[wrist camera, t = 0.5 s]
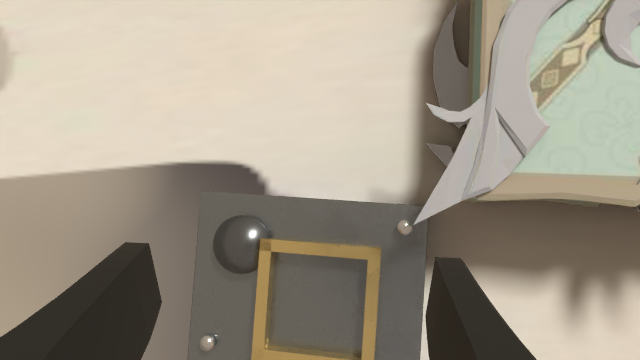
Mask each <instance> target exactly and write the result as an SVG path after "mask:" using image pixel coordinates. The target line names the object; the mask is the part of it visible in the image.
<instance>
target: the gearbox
mask: <svg viewBox="0 0 640 360" xmlns="http://www.w3.org/2000/svg"><path fill="white" fill-rule="evenodd" d="M423 207H424V206H418V205H403V204H388V203H373V202H358V201H343V200H328V199H313V198H298V197H283V196H269V195H254V194H239V193H224V192H223V193H222V192H209V191H201V199H200V212H199V224H198V237H197V249H196V262H195V274H194V286H193V299H192V311H191V323H190V335H189V348H188V360H420V351H421V334H422V317H423V299H424V282H425V265H426V247H427V230H428V218H426V219H424V220H422V221H420V222H418V223H416V224H414V223H415V221H416V219H417V218H418V216H419V214H420V213H421V211H422V209H423ZM413 224H414V225H413Z"/></svg>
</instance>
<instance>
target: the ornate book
mask: <svg viewBox="0 0 640 360" xmlns="http://www.w3.org/2000/svg"><path fill="white" fill-rule="evenodd" d="M457 3H458V1H457ZM457 3H456V4H455V6H454V7H453V9H452V10H451V12H450V13H449V15H448V16H447V18H446V19H445V21H444V24H443V26H442V29H441V31H440V34H439V36H438V39H437V42H436V44H435V47H434V62H433V80H434V84H435V89H436V93H437V97H438V102H439V106H440V107H437V106H434V105H431V104H428V103H426V105H427V106H428V108H429V109H430V111H431V112H432V113H433V115H434V116H436V117H438V118H440V119H442V120H444V121H446V122H448V123H454V124H455V125H456V126H457V128H458V129H460V128H461V127H462V126H463V125H464V124H465V125H467V128H466V130H465V132H464V134H463V136H462V138H461V140H460V142H459V145H458V147H457V149H456V151H455V153H454V154H453V151H452V149H451V147H450V145H440V144H430V143H426V145H427V146H428V147H429V148H430V149H431V150H432V152H433V153H434V154H435V155H436V156H437V157H438V158H439V159H440V161H441V162H442V163H443V164H444V165H445V166H446V167H447V168H446V170H445V172H444V173H443V175H442V177H441V178H440V180H439V182H438V184H437V185H436V187H435V189H434V190H433V192H432V194H431V195H430V197H429V199H428V201H427V202H426V204H425V206H424V207H423V209H422V211H421V213H420V214H419V216H418V218H417V219H416V221H415V223H414V224H416V223H418V222H420V221H422V220H424V219H426V218H428V217H430V216H432V215H434V214H436V213H438V212H440V211H442V210H444V209H447V208H449V207H451V206H453V205H455V204H457V203H459V202H462V201H464V202H497V201H546V202H554V203H563V204H571V205H579V206H588V207H598V206H600V205H601V204H603V203H606V204H614V205H621V206H629V207H636V208H637V209H636V210H638V212H640V0H471V1H470V33H469V66H468V67H465V66H464V65H463V64H462V63H461V62H460V61H459V60H458V57H457V54H456V51H455V47H454V40H453V31H452V24H453V20H454V16H455V12H456V8H457ZM414 224H413V225H414Z"/></svg>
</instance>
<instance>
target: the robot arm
mask: <svg viewBox="0 0 640 360" xmlns="http://www.w3.org/2000/svg"><path fill="white" fill-rule="evenodd" d="M161 303H162V300H161V296H160V292H159V287H158V282H157V278H156V273H155V269H154V264H153V260H152V255H151V251H150V246H149V244H148V243H129V242H125V243H124V244H123V245H121V246H120V247H119V248H118V249H116V250H115V251H114V252H113V253H112V254H110V255H109V256H108V257H106V258H105V259H104V260H103V261H102V262H100V263H99V264H98V265H97V266H95V267H94V268H93V269H92V270H91V271H89V272H88V273H87V274H86V275H84V276H83V277H82V278H81V279H79V280H78V281H77V282H76V283H74V284H73V285H72V286H71V287H70V288H68V289H67V290H66V291H64V292H63V293H62V294H60V295H59V296H58V297H57V298H55V299H54V300H52V301H51V302H50V303H48V304H47V305H46V306H44V307H43V308H42V309H40V310H39V311H38V312H36V313H35V314H33V315H32V316H31V317H29V318H28V319H27V320H25V321H24V322H23V323H21V324H20V325H18V326H17V327H15V328H14V329H12V330H11V331H9V332H8V333H6V334H5V335H3V336H2V337H0V360H141V358H142V356H143V354H144V352H145V349H146V347H147V345H148V343H149V340H150V338H151V335H152V332H153V329H154V326H155V323H156V320H157V316H158V313H159V310H160V306H161ZM426 329H427V341H428V352H429V359H430V360H537V359H536V358H535V357H534V356H533V355H532V354H531V353H530V351H529V350H528V349H527V348H526V347H525V346H524V344H523V343H522V342H521V341H520V340H519V338H518V337H517V336H516V335H515V333H514V332H513V331H512V330H511V328H510V327H509V326H508V324H507V323H506V322H505V321H504V319H503V318H502V317H501V315H500V314H499V313H498V311H497V310H496V309H495V307H494V306H493V305H492V303H491V302H490V300H489V299H488V298H487V296H486V295H485V293H484V292H483V290H482V289H481V288H480V286H479V285H478V283H477V282H476V280H475V279H474V277H473V276H472V274H471V272H470V271H469V269H468V268H467V266H466V265H465V263H464V262H463V261H462V260H461V259H459V258H439V257H435V262H434V268H433V274H432V280H431V287H430V293H429V299H428V305H427V311H426Z"/></svg>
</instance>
